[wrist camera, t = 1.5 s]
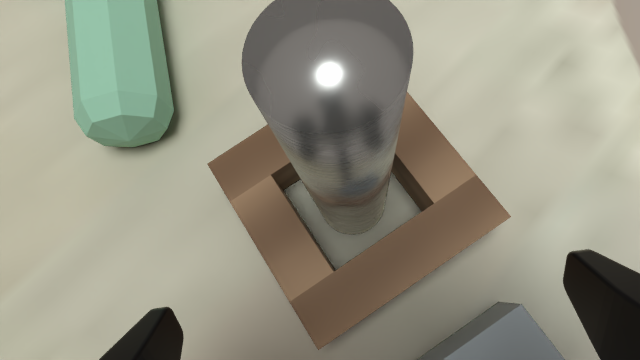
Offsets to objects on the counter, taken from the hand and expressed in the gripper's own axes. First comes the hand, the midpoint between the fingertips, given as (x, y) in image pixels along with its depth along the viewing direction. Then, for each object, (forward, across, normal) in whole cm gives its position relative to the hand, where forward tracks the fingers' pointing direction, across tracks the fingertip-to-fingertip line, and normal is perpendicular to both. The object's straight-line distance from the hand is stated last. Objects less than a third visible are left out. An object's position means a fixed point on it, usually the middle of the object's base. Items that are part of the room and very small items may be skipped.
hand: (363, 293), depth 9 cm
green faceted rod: (+24, +13, -7) cm, 28 cm away
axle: (+11, 0, +5) cm, 12 cm away
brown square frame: (+11, 0, +5) cm, 12 cm away
